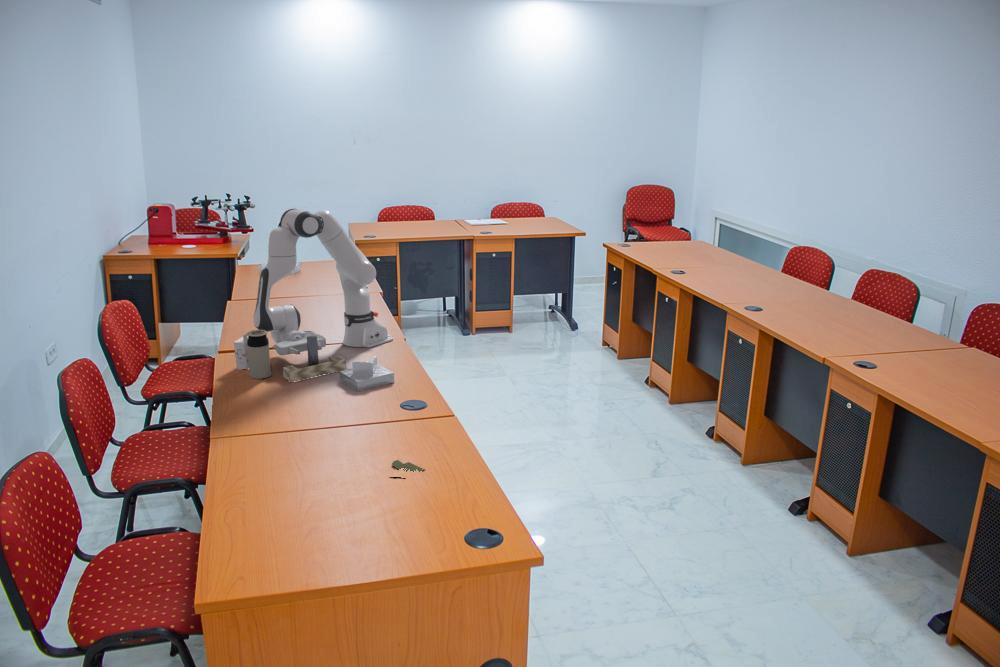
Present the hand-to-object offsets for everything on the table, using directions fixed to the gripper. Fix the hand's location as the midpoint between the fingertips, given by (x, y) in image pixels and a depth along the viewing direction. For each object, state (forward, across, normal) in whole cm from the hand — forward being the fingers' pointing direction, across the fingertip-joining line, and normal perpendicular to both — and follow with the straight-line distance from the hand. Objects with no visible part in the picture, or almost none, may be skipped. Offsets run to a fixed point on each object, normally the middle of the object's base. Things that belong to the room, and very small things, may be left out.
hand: (309, 350), depth 315 cm
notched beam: (+4, 0, +9) cm, 10 cm away
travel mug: (-7, -18, +9) cm, 21 cm away
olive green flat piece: (+99, -16, +10) cm, 101 cm away
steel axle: (+3, 0, +9) cm, 9 cm away
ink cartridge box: (-21, -18, +9) cm, 29 cm away
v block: (+23, +12, +9) cm, 27 cm away
